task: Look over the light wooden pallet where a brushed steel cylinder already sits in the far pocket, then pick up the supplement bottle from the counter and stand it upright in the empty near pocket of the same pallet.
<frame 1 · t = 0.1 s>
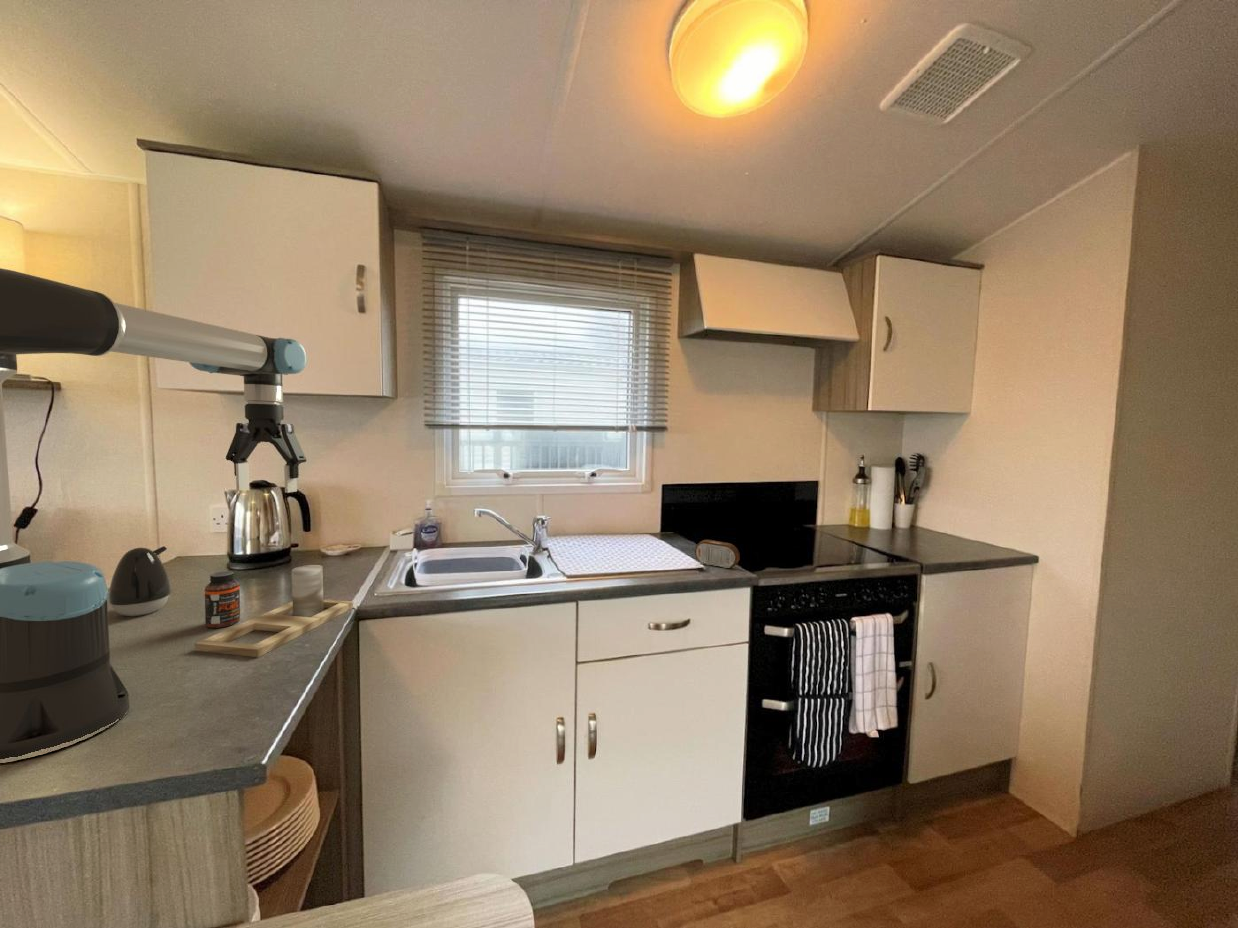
hand: (266, 490, 117), 28 cm above the worktop, tool pointing down, fingers open, 13 cm apart
supplement bottle: (223, 624, 106), on the worktop
pump dispenser: (142, 612, 111), on the worktop
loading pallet: (283, 626, 105), on the worktop
tin: (716, 566, 160), on the worktop
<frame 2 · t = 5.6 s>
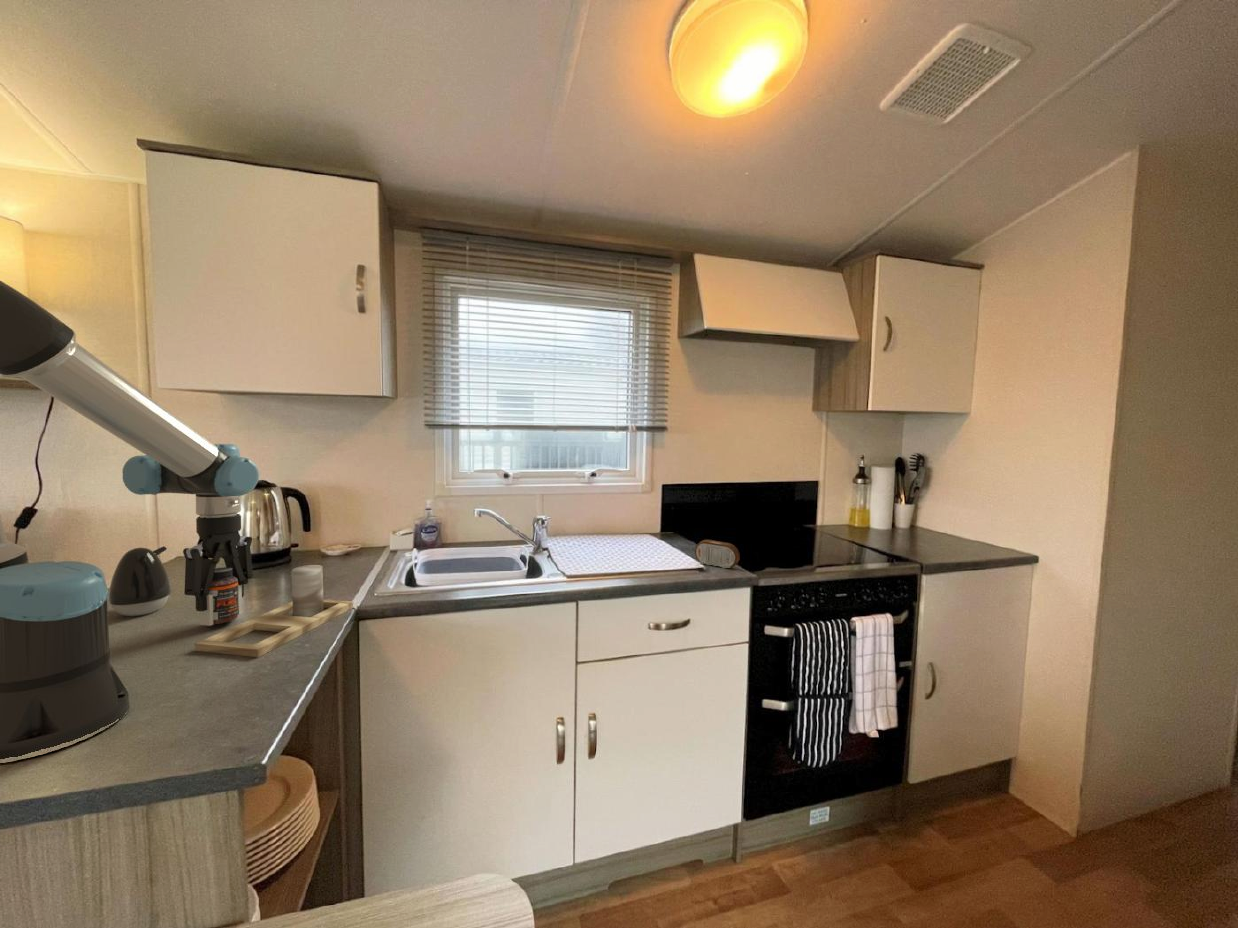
hand: (221, 618, 105), 1 cm above the worktop, tool pointing down, fingers closed on supplement bottle, 6 cm apart
supplement bottle: (221, 620, 105), point 1 cm above the worktop, touching gripper
everything else where it was.
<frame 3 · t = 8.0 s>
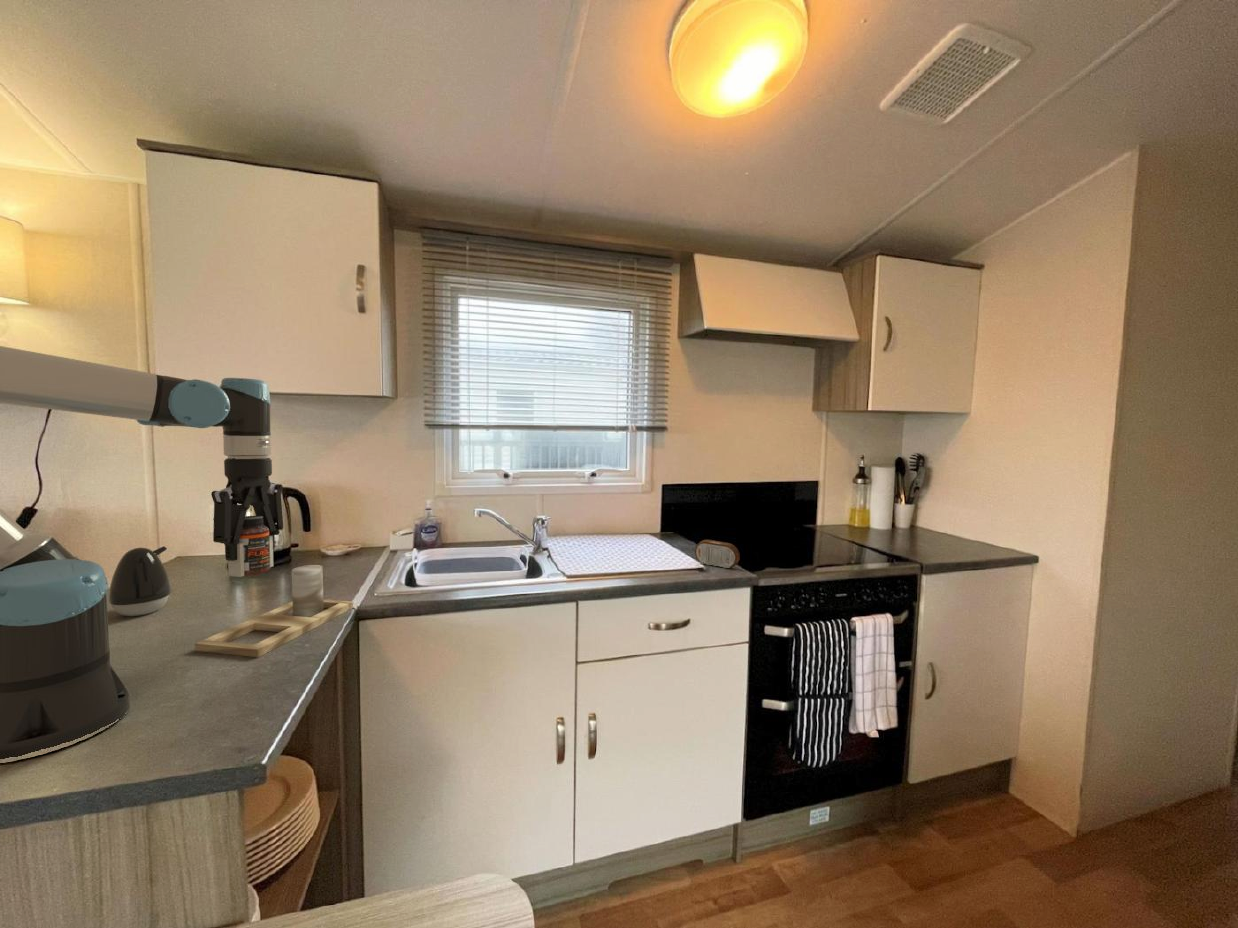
hand: (251, 570, 97), 15 cm above the worktop, tool pointing down, fingers closed on supplement bottle, 6 cm apart
supplement bottle: (252, 573, 97), point 14 cm above the worktop, touching gripper
everything else where it was.
when the fingers open (3 cm above the worktop, at t = 10.4 s): supplement bottle drops 3 cm, resting in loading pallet.
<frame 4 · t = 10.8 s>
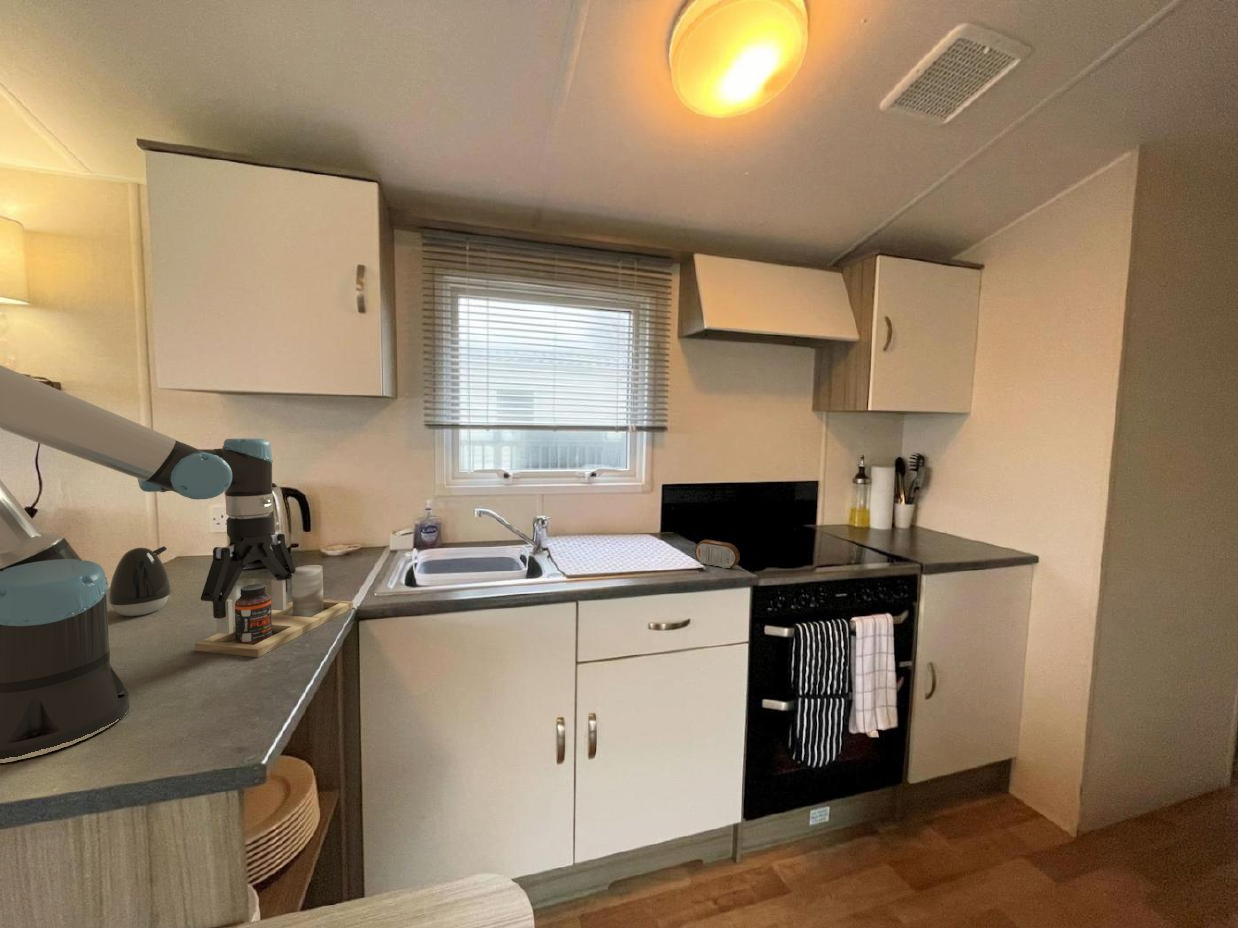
hand: (253, 620, 98), 4 cm above the worktop, tool pointing down, fingers open, 11 cm apart
supplement bottle: (254, 641, 98), resting in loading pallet
everything else where it was.
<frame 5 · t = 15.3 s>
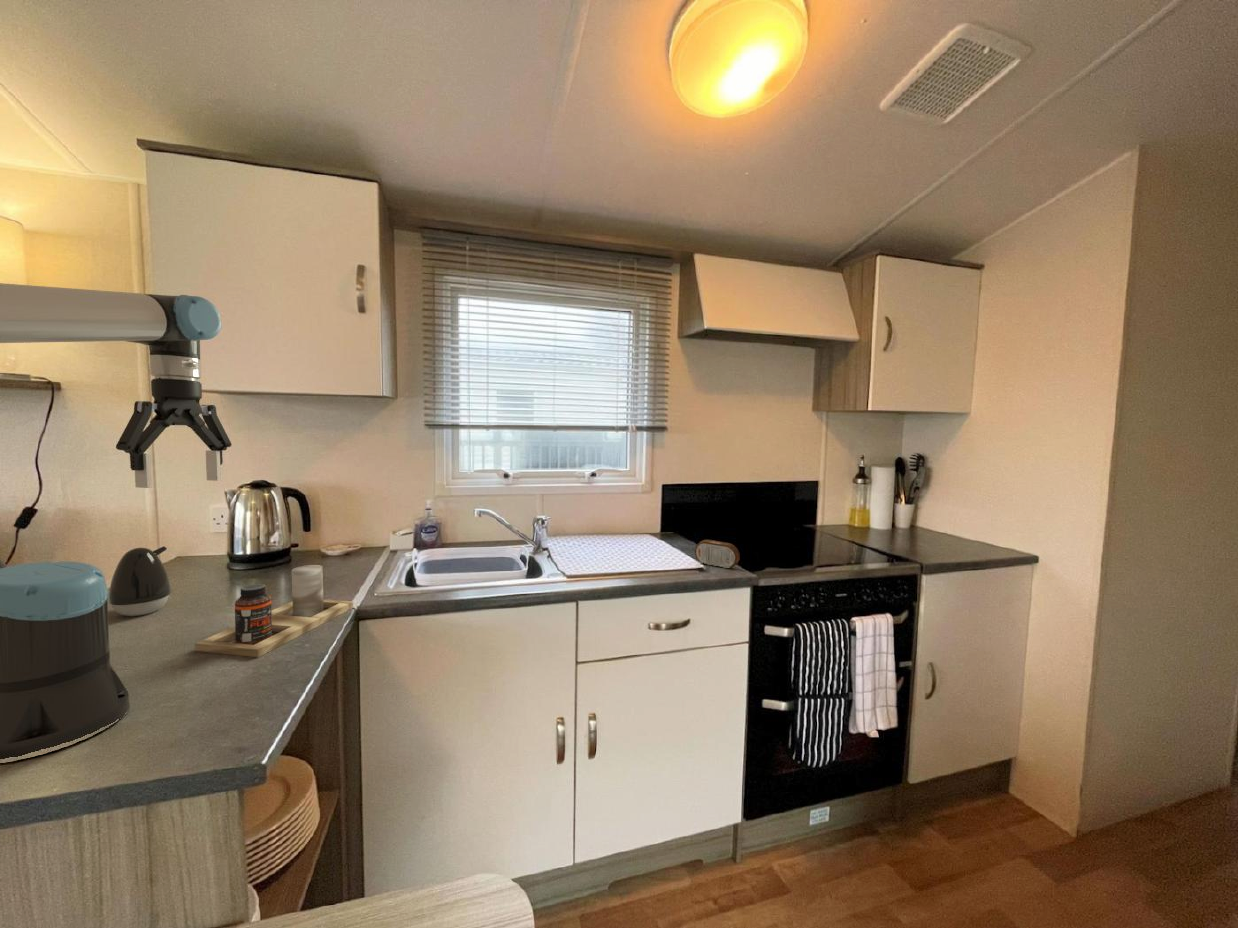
hand: (181, 483, 98), 32 cm above the worktop, tool pointing down, fingers open, 13 cm apart
nothing on the worktop moved.
at the end: supplement bottle 0.1 cm from the target spot on the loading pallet, point 0.0 cm above the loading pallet's base; supplement bottle tilted 0°; the gripper is holding nothing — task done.
